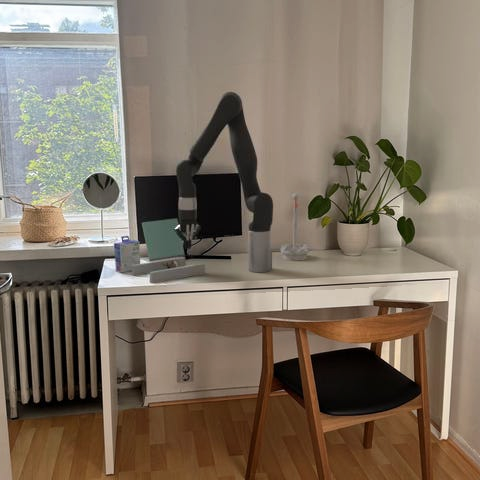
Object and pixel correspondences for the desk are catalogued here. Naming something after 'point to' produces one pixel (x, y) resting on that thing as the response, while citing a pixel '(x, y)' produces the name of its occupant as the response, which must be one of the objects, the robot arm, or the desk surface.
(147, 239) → the cover
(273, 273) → the desk surface
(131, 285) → the desk surface
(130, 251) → the ink cartridge box
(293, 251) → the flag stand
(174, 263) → the eagle figurine
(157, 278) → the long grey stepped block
